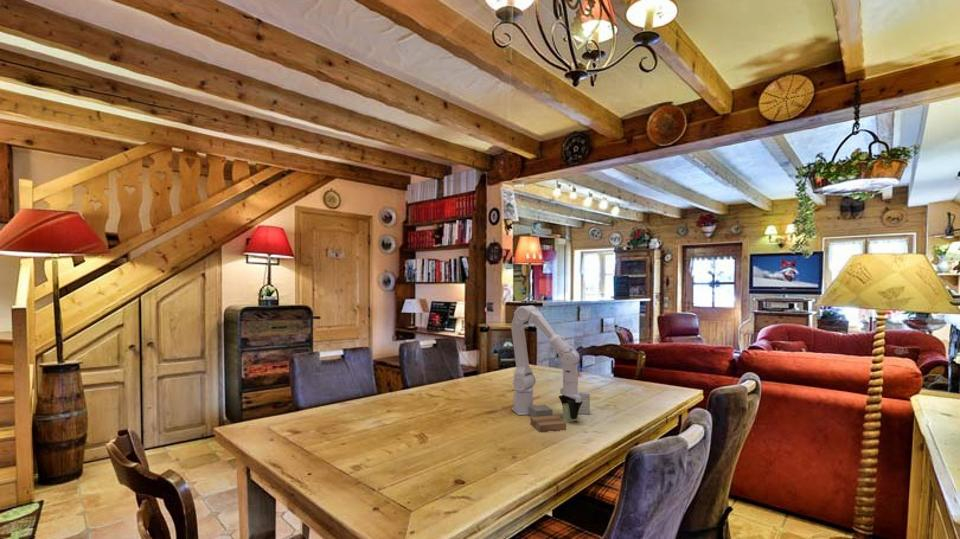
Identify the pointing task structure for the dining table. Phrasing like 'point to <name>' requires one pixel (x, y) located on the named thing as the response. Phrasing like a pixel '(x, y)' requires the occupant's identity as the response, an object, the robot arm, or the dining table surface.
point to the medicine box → (584, 402)
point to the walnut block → (548, 423)
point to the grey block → (540, 411)
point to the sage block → (567, 413)
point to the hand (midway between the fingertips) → (570, 416)
